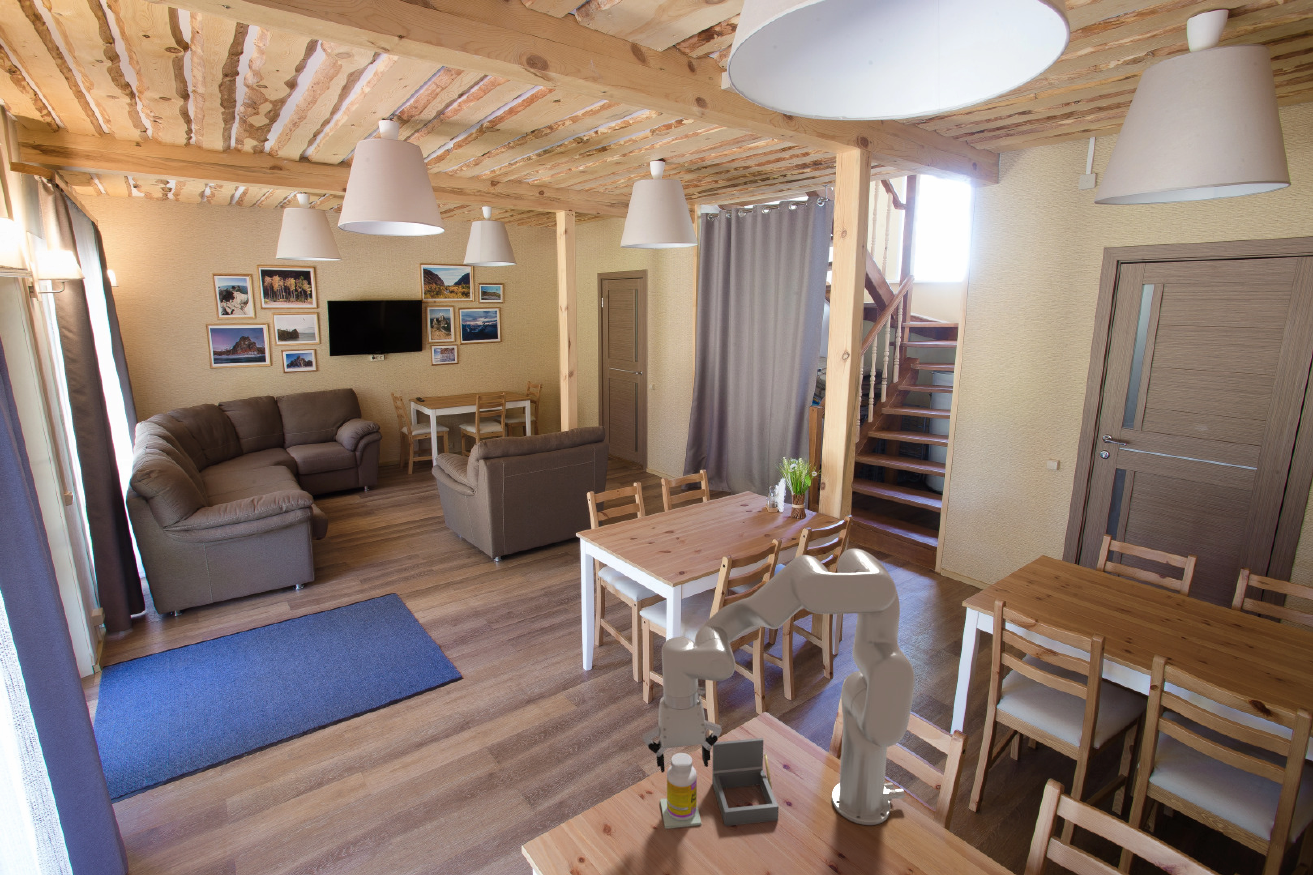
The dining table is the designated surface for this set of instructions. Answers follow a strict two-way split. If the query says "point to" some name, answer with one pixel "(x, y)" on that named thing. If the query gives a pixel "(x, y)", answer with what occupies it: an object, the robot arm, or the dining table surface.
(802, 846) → the dining table surface
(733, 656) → the robot arm
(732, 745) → the case
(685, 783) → the supplement bottle
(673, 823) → the rest pad
